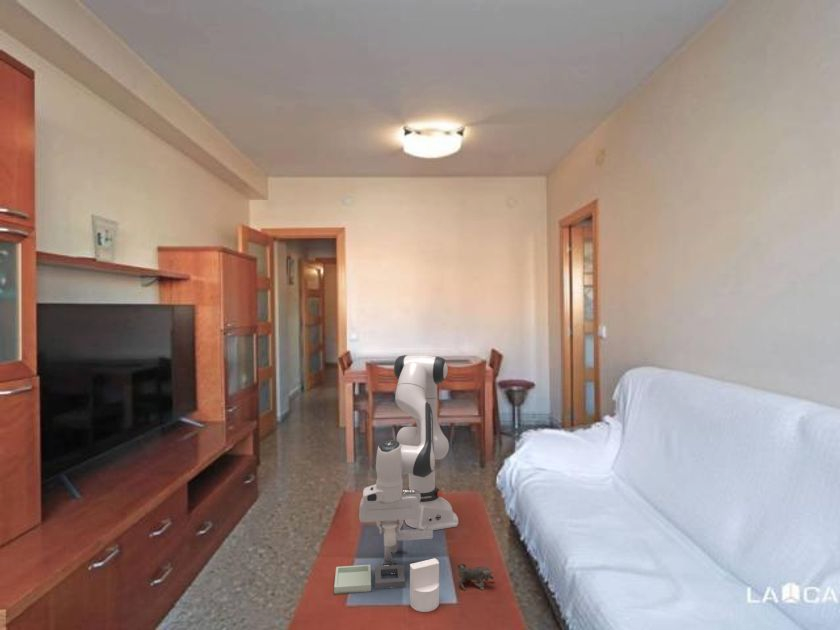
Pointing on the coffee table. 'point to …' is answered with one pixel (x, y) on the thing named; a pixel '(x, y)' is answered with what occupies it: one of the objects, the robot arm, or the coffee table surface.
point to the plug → (389, 532)
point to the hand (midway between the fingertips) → (389, 532)
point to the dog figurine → (474, 575)
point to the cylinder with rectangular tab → (424, 585)
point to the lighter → (394, 547)
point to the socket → (389, 572)
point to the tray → (352, 579)
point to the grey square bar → (414, 534)
